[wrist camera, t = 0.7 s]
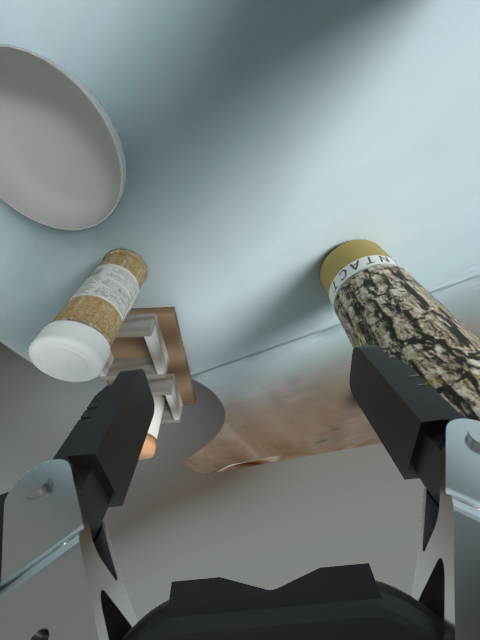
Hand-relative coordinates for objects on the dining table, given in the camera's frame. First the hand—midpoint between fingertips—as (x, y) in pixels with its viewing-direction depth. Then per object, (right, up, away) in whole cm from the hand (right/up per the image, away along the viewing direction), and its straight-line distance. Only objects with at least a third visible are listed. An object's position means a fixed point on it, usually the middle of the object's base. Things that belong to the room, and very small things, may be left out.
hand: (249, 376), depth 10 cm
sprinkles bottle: (-12, +8, +18) cm, 23 cm away
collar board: (-14, -4, +27) cm, 31 cm away
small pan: (-16, +19, +9) cm, 26 cm away
